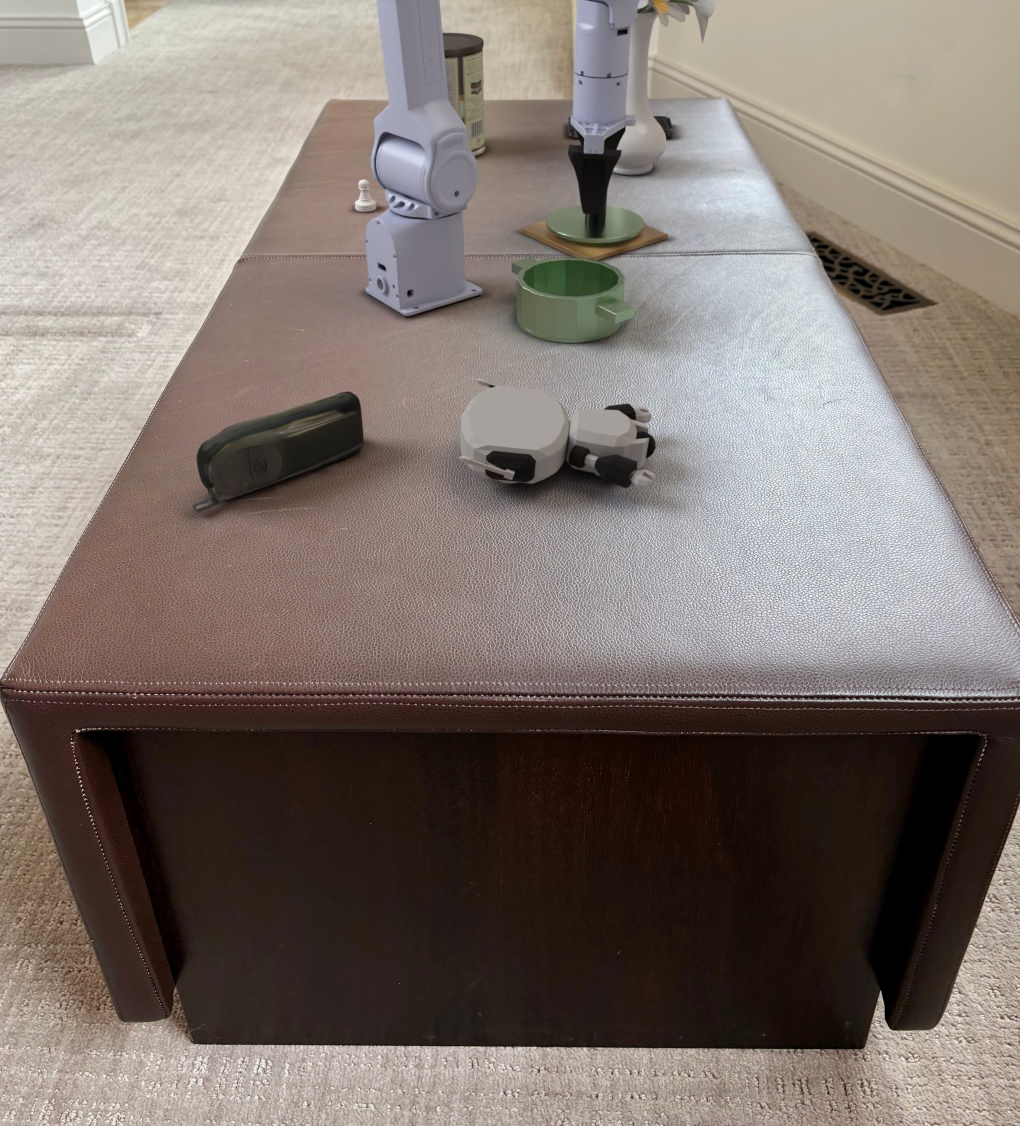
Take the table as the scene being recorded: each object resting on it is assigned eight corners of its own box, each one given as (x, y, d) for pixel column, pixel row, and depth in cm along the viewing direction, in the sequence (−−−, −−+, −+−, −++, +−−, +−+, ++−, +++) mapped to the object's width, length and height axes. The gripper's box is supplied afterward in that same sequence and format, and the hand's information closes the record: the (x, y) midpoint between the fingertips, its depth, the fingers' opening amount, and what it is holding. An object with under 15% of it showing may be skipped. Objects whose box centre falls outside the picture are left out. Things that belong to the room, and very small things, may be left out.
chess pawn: (351, 208, 130) (348, 179, 128) (369, 203, 132) (367, 175, 130) (362, 213, 129) (359, 184, 127) (380, 209, 130) (378, 180, 128)
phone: (673, 130, 153) (569, 129, 153) (673, 139, 153) (568, 137, 154) (669, 116, 159) (568, 115, 159) (668, 123, 160) (568, 122, 160)
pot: (581, 363, 97) (583, 318, 94) (480, 307, 107) (479, 264, 104) (662, 333, 102) (666, 289, 99) (559, 282, 112) (560, 241, 109)
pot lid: (589, 256, 116) (591, 213, 113) (526, 227, 123) (526, 186, 120) (664, 233, 122) (667, 192, 119) (599, 207, 129) (601, 167, 126)
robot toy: (648, 437, 88) (467, 419, 88) (656, 388, 85) (469, 370, 85) (652, 522, 78) (449, 502, 78) (662, 470, 75) (451, 449, 76)
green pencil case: (345, 382, 84) (170, 443, 76) (368, 396, 82) (190, 459, 74) (350, 437, 87) (182, 502, 79) (372, 452, 85) (201, 519, 77)
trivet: (588, 263, 116) (588, 258, 116) (520, 232, 124) (520, 227, 123) (667, 239, 122) (668, 234, 121) (598, 211, 129) (598, 206, 129)
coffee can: (418, 138, 154) (413, 31, 146) (489, 140, 153) (487, 32, 145) (406, 159, 146) (399, 47, 138) (480, 161, 145) (478, 49, 137)
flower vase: (709, 183, 138) (734, -37, 123) (567, 183, 138) (574, -37, 123) (695, 153, 148) (716, -53, 133) (563, 153, 148) (569, -53, 133)
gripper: (636, 90, 106) (627, 225, 114) (641, 58, 117) (633, 183, 126) (565, 87, 107) (561, 222, 115) (577, 56, 118) (573, 180, 126)
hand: (594, 201), depth 120 cm, fingers open, 7 cm apart
